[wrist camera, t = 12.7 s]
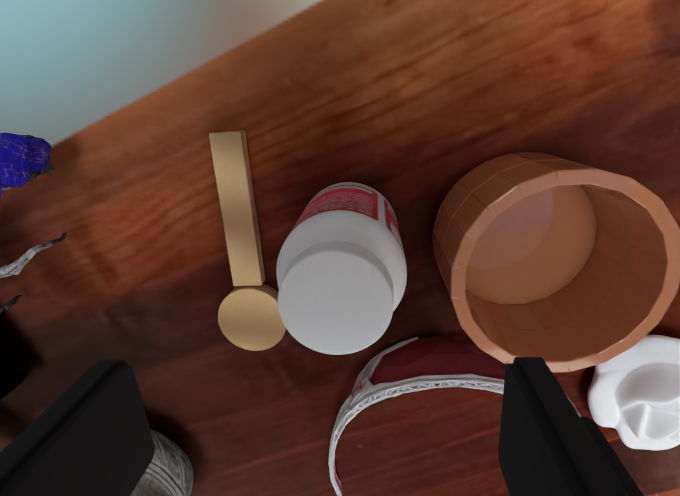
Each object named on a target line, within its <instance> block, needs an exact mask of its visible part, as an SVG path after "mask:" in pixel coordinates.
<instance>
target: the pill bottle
mask: <svg viewBox="0 0 680 496" xmlns="http://www.w3.org/2000/svg"><path fill="white" fill-rule="evenodd" d="M276 275H277V282H278V287H279V292H278V309H279V314H280V317H281V319H282V322H283V324H284V325H285V327H286V329H287V330H288V331H289V333H290V334H291V335H292V336H293V337H294V338H295V339H296V340H297V341H299V342H300V343H301V344H303V345H304V346H306V347H308V348H310V349H312V350H315V351H318V352H321V353H325V354H334V355H343V354H350V353H354V352H358V351H360V350H363V349H365V348H367V347H369V346H370V345H372V344H373V343H375V342H376V341H377V340H378V339H379V338H380V337H381V336H382V335H383V334H384V332H385V331H386V329H387V328H388V325H389V323H390V321H391V318H392V314H393V312H394V310H395V309H396V308H397V306H398V304H399V303H400V301H401V299H402V297H403V294H404V291H405V287H406V281H407V267H406V259H405V255H404V251H403V246H402V242H401V237H400V233H399V228H398V223H397V219H396V216H395V213H394V211H393V209H392V207H391V205H390V204H389V202H388V201H387V200H386V199H385V198H384V197H383V196H382V195H381V194H380V193H379V192H378V191H376V190H375V189H373V188H371V187H369V186H366V185H363V184H360V183H354V182H343V183H338V184H334V185H331V186H329V187H327V188H325V189H323V190H322V191H320V192H319V193H318V194H316V195H315V196H314V197H313V199H312V200H311V201H310V202H309V203H308V205H307V206H306V208H305V210H304V211H303V213H302V214H301V216H300V217H299V219H298V221H297V222H296V224H295V225H294V227H293V229H292V230H291V232H290V234H289V235H288V237H287V238H286V240H285V242H284V244H283V246H282V248H281V250H280V253H279V256H278V260H277V269H276Z"/></svg>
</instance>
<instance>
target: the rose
mask: <svg viewBox="0 0 680 496" xmlns="http://www.w3.org/2000/svg"><path fill="white" fill-rule="evenodd" d="M587 398H588V406H589V409H590V412H591V415H592V418H593V419H594V421H595V422H596V423H597V424H598V425H600V426H603V427H611V428H615V429H616V430H617V432H618V434H619V436H620V438H621V440H622V442H623V443H624V444H625V445H626V446H628V447H630V448H632V449H646V450H665V449H670V448H673V447H675V446H677V445H679V444H680V339H678V338H673V337H668V336H663V335H646V336H645V337H644V338H642V339H641V340H640V341H639V342H638V343H637V344H636V345H635V346H633V347H632V348H630V349H629V350H627V351H625V352H623V353H621V354H619V355H618V356H616V357H614V358H612V359H610V360H608V361H607V362H605V363H601V364H598V365H595V372H594V376H593V379H592V382H591V384H590V387H589V389H588V395H587Z"/></svg>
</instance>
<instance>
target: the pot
mask: <svg viewBox="0 0 680 496" xmlns="http://www.w3.org/2000/svg"><path fill="white" fill-rule="evenodd" d="M432 242H433V254H434V257H435V260H436V263H437V266H438V269H439V272H440V275H441V277H442V280H443V283H444V285H445V288H446V290H447V293H448V295H449V298H450V300H451V303H452V306H453V308H454V311H455V313H456V316H457V318H458V321H459V324H460V325H461V327H462V328H463V330H464V331H465V332H466V333H467V335H468V336H469V337H470V338H471V339H472V341H473V342H474V343H475V344H476V345H477V347H478V348H480V349H481V350H483V351H484V352H486V353H487V354H489V355H491V356H492V357H494V358H496V359H497V360H499V361H500V362H502V363H504V364H507V363H513V361H514V358H515V357H542V358H543V359H544V361H545V362H546V364H547V365H548V367H549V369H550V370H551V372H572V371H575V370H579V369H583V368H587V367H591V366H595V365H598V364H601V363H605V362H607V361H608V360H610V359H612V358H614V357H616V356H618V355H619V354H621V353H623V352H625V351H627V350H629V349H630V348H632V347H633V346H635V345H636V344H637V343H638V342H639V341H640V340H641V339H642V338H644V337H645V336H646V335H647V334H648V333H649V332H650V331H651V330H652V329H653V328H654V327H655V326H656V325H657V324H658V323H659V322H660V321H661V319H662V317H663V316H664V314H665V312H666V311H667V309H668V307H669V306H670V304H671V302H672V301H673V299H674V297H675V296H676V294H677V293H676V292H677V291H678V286H679V282H680V228H679V227H678V225H677V223H676V222H675V220H674V218H673V217H672V215H671V214H670V212H669V210H668V209H667V207H666V206H665V204H664V203H663V201H662V200H661V199H660V197H658V196H657V195H656V194H654V193H653V192H651V191H650V190H649V189H647V188H646V187H644V186H643V185H641V184H640V183H639V182H637V181H636V180H634V179H632V178H631V177H627V176H624V175H620V174H617V173H613V172H610V171H606V170H602V169H599V168H595V167H592V166H588V165H585V164H581V163H578V162H574V161H571V160H567V159H563V158H560V157H556V156H552V155H548V154H545V153H536V152H519V153H511V154H507V155H503V156H499V157H496V158H493V159H491V160H488V161H486V162H484V163H482V164H480V165H479V166H477V167H475V168H474V169H472V170H471V171H469V172H468V173H467V174H465V175H464V176H463V177H462V178H461V179H460V180H459V181H458V182H457V183H456V184H455V185H454V186H453V187H452V188H451V190H450V191H449V192H448V194H447V195H446V197H445V198H444V200H443V202H442V204H441V206H440V208H439V210H438V213H437V216H436V218H435V223H434V227H433V237H432Z"/></svg>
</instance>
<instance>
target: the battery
mask: <svg viewBox="0 0 680 496" xmlns="http://www.w3.org/2000/svg"><path fill="white" fill-rule="evenodd" d="M29 373H30V371H29V369H28V368H27V367H26V365H25V364H24V363H23V362H22V361H21V359H20V358H19V357H18V356H17V354H16V353H15V352H14V351H13V349H12V348H11V347H10V346H9V345H8V343H7V342H6V341H5V340H4V338H3V337H2V336H1V335H0V400H1V399H2V398H3V397H5V396H6V395H7V394H9V393H10V392H11V391H12V390H14V389H15V388H16V387H17V386H19V385H20V384H21V383H22V382H23V381H24V380H25V379H26V378H27V377H28V375H29Z"/></svg>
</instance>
